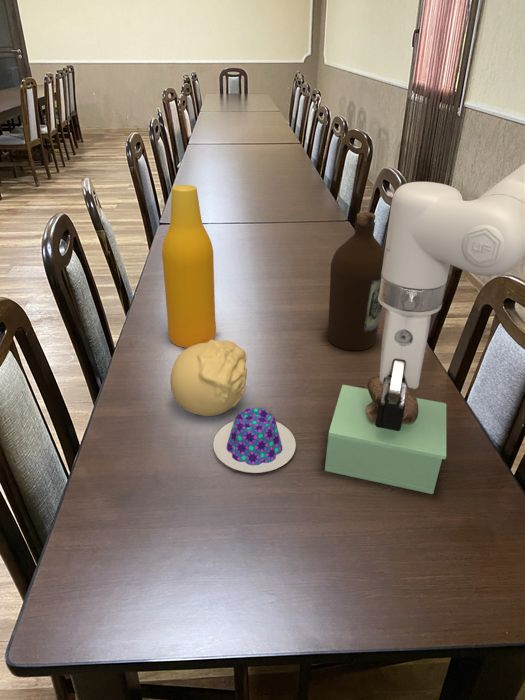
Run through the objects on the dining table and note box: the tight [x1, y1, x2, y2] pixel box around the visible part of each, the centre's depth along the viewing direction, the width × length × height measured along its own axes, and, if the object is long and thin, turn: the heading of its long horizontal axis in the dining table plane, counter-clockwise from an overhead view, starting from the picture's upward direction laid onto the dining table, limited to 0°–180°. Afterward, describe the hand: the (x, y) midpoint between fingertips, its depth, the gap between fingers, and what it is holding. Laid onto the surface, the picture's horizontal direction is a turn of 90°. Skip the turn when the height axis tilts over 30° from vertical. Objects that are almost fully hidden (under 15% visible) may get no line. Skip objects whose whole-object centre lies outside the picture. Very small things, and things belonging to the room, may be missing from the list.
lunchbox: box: [324, 436, 443, 495], centre depth 76 cm, size 15×12×6 cm
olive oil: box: [327, 211, 385, 352], centre depth 100 cm, size 11×11×25 cm
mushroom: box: [366, 375, 419, 425], centre depth 73 cm, size 8×8×6 cm
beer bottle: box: [161, 184, 217, 349], centre depth 98 cm, size 9×9×29 cm
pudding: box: [212, 407, 297, 474], centre depth 77 cm, size 12×12×5 cm
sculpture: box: [169, 339, 248, 417], centre depth 84 cm, size 11×12×11 cm
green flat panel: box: [327, 384, 447, 460], centre depth 74 cm, size 15×12×1 cm
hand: (390, 405), depth 73 cm, fingers open, 9 cm apart
